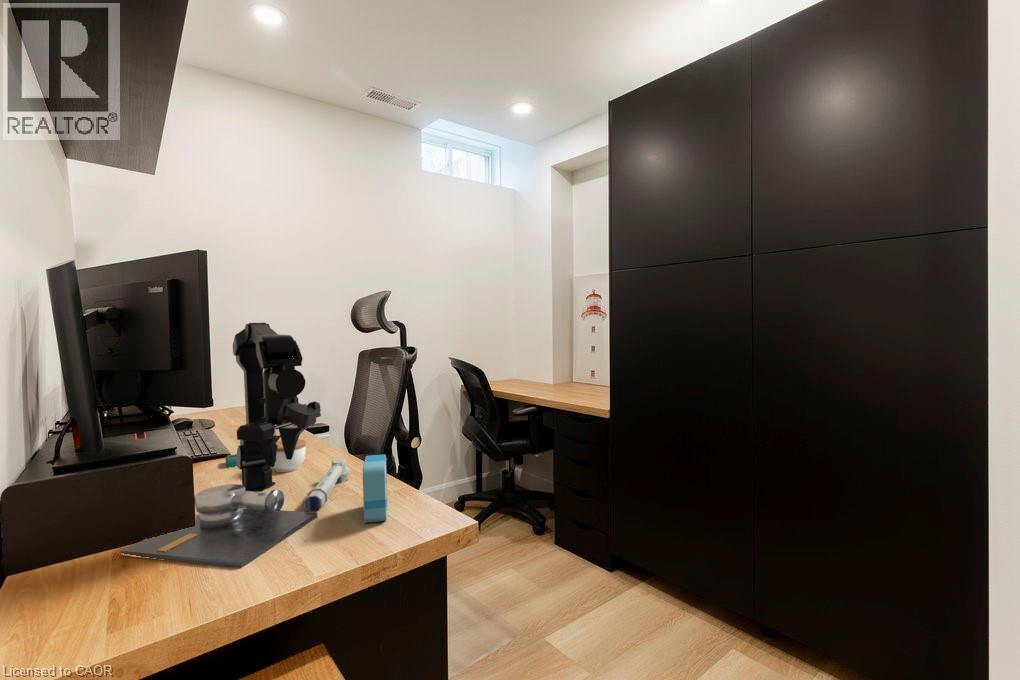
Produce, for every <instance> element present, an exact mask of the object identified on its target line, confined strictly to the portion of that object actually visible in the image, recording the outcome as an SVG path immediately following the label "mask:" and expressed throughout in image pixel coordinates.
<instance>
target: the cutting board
mask: <svg viewBox="0 0 1020 680" xmlns="http://www.w3.org/2000/svg"><path fill="white" fill-rule="evenodd" d="M195 516H196V524H195V526H193V527H189V528H185V529H181V530H178V531H175V532H170V533H167V534H164V535H160V536H157V537H152V538H149V537H148V538H149V539H147V538H145V539H142V540H141V541H139V542H136V543H135V544H132V545H130V546H127V547H126V548H124V549H121V550H120V551H119V552H120V554H121V553H124V554H130V555H136V556H141V557H149V558H156V559H164V560H163V561H166V560H170V561H169V562H176V561H178V563H187V564H198V565H206V566H207V565H209V566H219V567H228V568H229V567H230V568H237V569H239V568H240V569H242V568H244V567H245V566H246V565H248V564H249V563H251V562H252V561H255V559H257V558H258V557H260V556H261V555H263V554H265V553H266V552H267V551H269V550H270V549H272V548H274V547H275V546H277V545H278V544H279V543H281V542H283V541H285V539H286V540H287V538H289V537H290V536H291V535H293V534H294V533H296V532H298V531H299V530H301V529H302V528H303V527H305V526H307V525H308V524H310V523H312V522H313V521H314V520H317V518H318V512H314V511H296V510H295V511H294V510H282V509H281V510H280V511H279V512H278V513H275V514H273V513H268V512H267V511H266V510H252V509H238V508H235V509H232V510H229V511H224V512H219V513H211V514H203V513H198V514H197V515H195ZM156 559H155V560H156Z"/></svg>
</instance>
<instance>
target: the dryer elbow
mask: <svg viewBox="0 0 1020 680" xmlns="http://www.w3.org/2000/svg"><path fill="white" fill-rule="evenodd" d="M284 503H285V493H284V492H283V491H282V490H278V489H273V490H270V491H260V492H258V491H245V486H243V485H242V484H237V483H235V484H234V483H233V484H232V483H229V484H223V485H222V484H221V485H216V486H212V487H209V488H205V489H203V490H201V491H199V492H198V493H196V494H195V511H196V512H197V513H198V514H199V513H203V514H211V513H219V512H224V511H229V510H232V509H235V508H238V509H252V510H266V511H267V512H268V513H273V514H275V513H278V512H279V511H280V510H282V508H283V506H284Z"/></svg>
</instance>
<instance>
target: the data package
mask: <svg viewBox="0 0 1020 680" xmlns="http://www.w3.org/2000/svg"><path fill="white" fill-rule="evenodd" d="M387 481H388V477H387V455H386V454H373V455H371V454H370V455H366V456H365V458H364V462H363V467H362V496H363V497H362V498H363V500H362V501H363V521H364V523H365V524H368V523H369V524H370V523H377V522H378V523H379V522H385V521H387V517H388V516H387V515H388V482H387Z"/></svg>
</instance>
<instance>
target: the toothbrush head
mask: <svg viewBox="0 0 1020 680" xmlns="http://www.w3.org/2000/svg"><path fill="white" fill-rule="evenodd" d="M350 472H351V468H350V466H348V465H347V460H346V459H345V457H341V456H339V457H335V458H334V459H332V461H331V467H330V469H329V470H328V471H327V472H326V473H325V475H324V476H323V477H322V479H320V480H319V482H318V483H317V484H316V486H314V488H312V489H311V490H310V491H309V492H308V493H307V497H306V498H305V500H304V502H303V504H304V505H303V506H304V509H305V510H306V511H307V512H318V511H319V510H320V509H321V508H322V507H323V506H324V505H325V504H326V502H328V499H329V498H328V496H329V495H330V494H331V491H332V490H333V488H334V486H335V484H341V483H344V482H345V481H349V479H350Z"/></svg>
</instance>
